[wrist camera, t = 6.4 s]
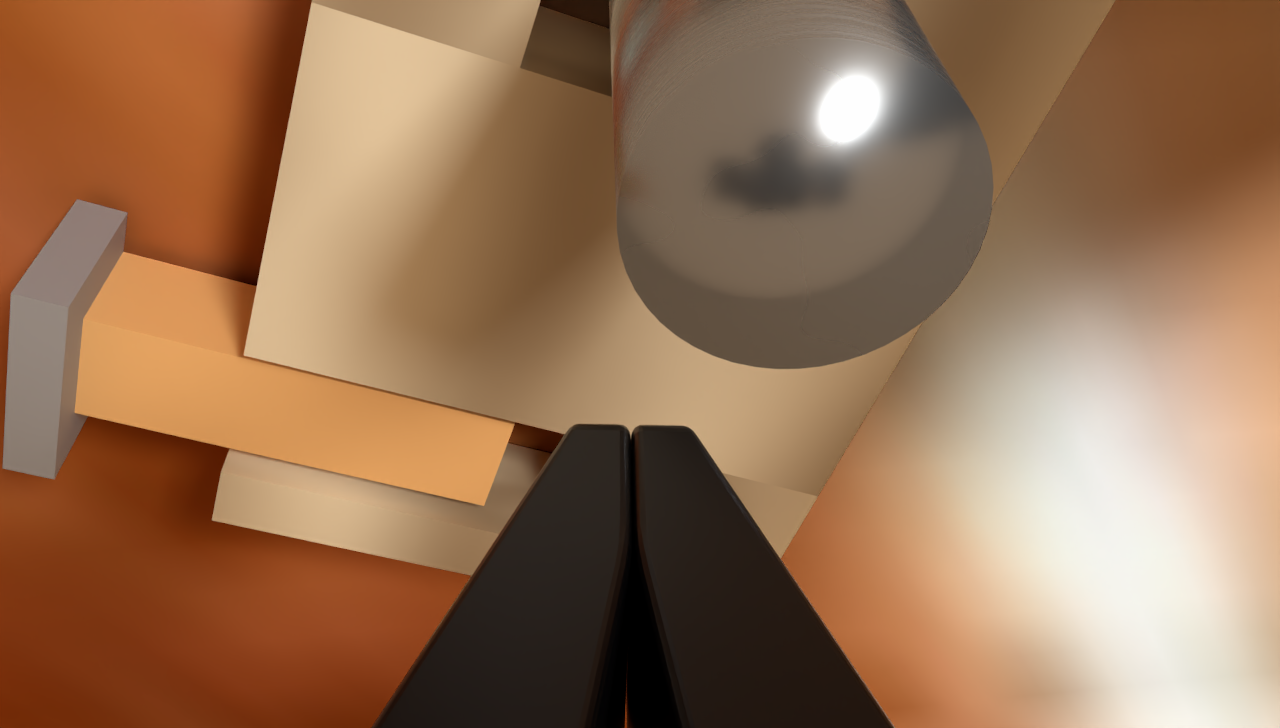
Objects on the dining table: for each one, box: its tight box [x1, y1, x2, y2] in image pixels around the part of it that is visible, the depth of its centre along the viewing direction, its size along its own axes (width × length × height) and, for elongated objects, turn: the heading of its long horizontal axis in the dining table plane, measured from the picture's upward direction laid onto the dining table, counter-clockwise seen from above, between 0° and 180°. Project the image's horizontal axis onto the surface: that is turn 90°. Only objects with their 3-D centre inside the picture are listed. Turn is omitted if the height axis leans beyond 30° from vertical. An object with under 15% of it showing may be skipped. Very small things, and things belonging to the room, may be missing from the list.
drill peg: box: [609, 0, 993, 369], centre depth 14 cm, size 3×3×9 cm
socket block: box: [212, 0, 1116, 576], centre depth 19 cm, size 10×15×2 cm, turn 161°
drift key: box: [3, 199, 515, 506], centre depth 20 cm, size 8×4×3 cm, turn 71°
